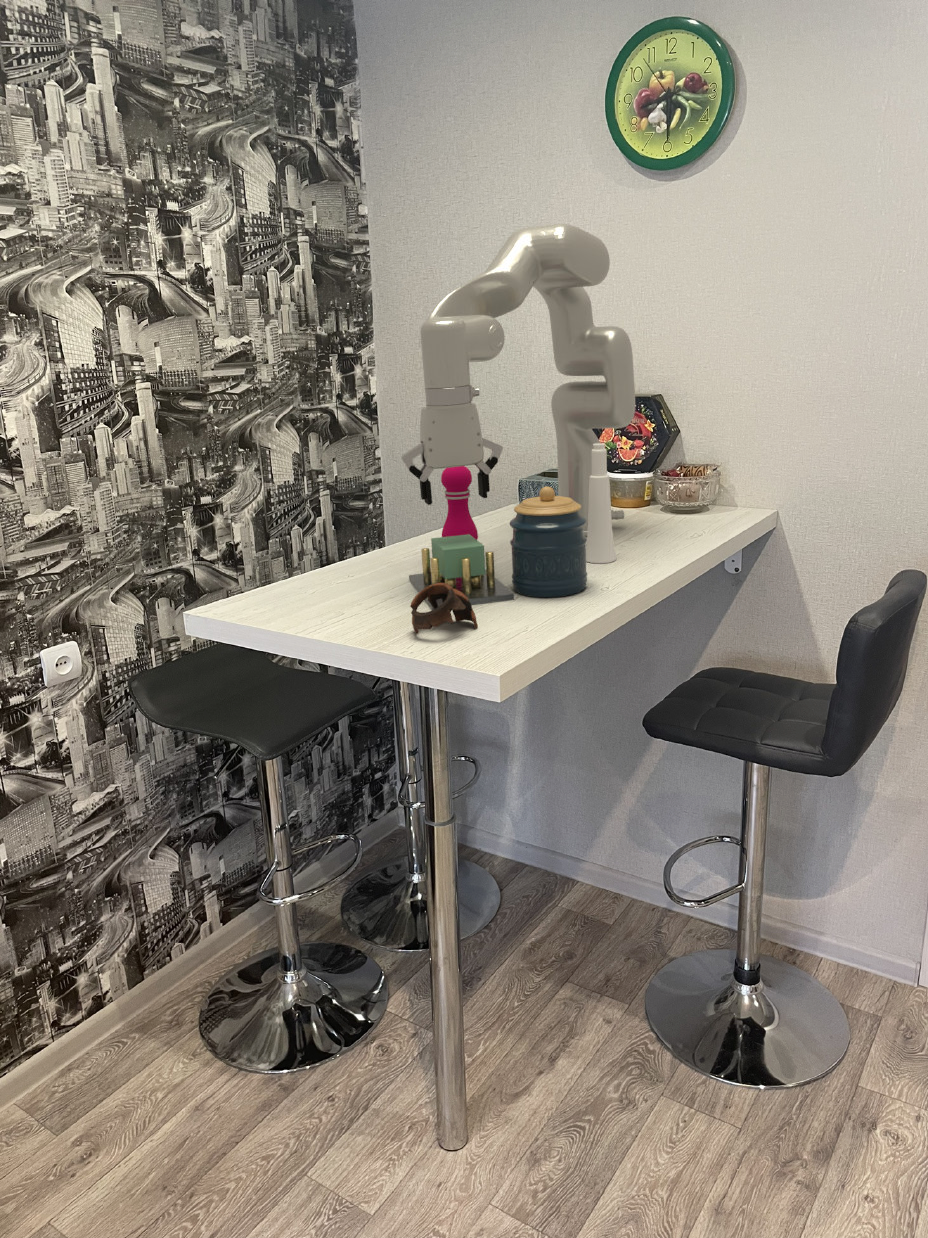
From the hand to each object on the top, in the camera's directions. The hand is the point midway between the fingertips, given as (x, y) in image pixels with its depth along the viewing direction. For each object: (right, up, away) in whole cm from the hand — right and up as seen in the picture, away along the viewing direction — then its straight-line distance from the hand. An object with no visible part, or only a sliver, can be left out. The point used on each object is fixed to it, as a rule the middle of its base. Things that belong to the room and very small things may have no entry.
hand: (455, 500), depth 159 cm
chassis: (+1, -15, +4) cm, 16 cm away
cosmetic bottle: (+27, -9, +19) cm, 35 cm away
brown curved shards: (-2, -22, -16) cm, 27 cm away
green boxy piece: (0, -12, +3) cm, 12 cm away
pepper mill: (+1, -8, +27) cm, 28 cm away
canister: (+16, -15, +2) cm, 22 cm away
